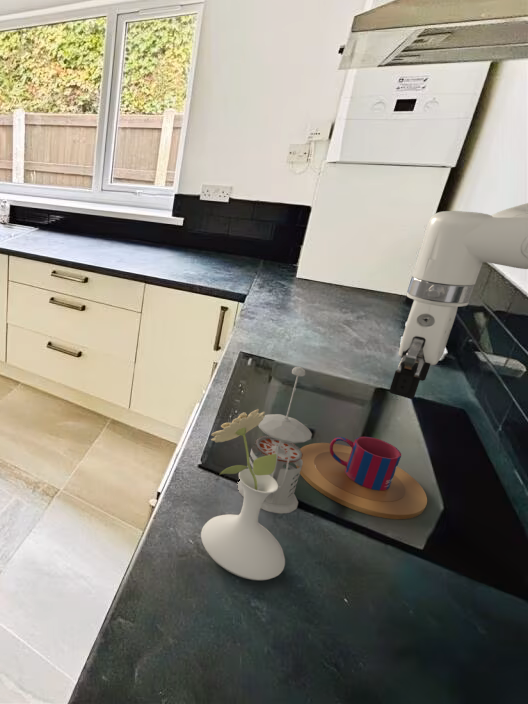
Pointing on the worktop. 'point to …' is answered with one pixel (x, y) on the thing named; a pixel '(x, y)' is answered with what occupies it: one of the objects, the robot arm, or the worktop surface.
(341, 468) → the round wooden plate
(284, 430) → the french press
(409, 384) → the robot arm
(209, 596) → the worktop surface
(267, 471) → the flower in vase
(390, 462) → the mug
